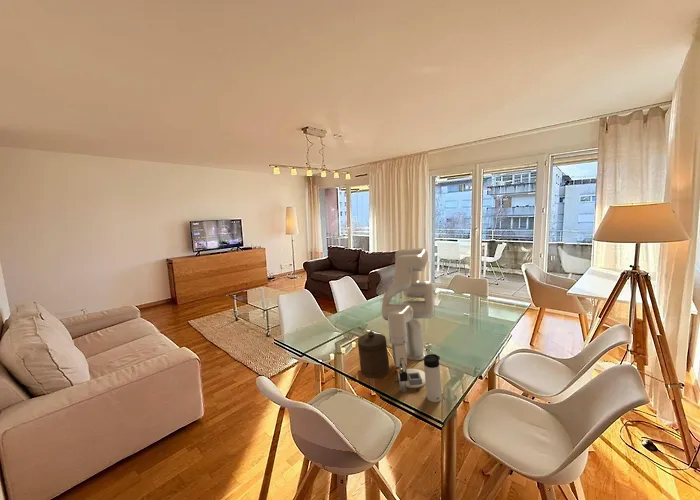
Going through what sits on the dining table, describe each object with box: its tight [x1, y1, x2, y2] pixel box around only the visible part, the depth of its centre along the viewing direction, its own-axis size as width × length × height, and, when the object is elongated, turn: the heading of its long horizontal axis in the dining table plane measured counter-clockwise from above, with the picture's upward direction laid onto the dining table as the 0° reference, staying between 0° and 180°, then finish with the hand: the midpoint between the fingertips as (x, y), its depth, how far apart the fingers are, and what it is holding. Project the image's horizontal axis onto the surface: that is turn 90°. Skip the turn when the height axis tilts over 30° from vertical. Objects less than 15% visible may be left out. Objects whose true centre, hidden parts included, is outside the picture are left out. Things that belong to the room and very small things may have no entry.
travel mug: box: [423, 353, 443, 403], centre depth 119 cm, size 6×7×20 cm
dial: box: [406, 368, 426, 389], centre depth 134 cm, size 13×13×4 cm
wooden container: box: [357, 331, 390, 379], centre depth 145 cm, size 15×15×22 cm
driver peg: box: [396, 367, 408, 393], centre depth 126 cm, size 3×3×11 cm
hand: (401, 374), depth 126 cm, fingers open, 9 cm apart
